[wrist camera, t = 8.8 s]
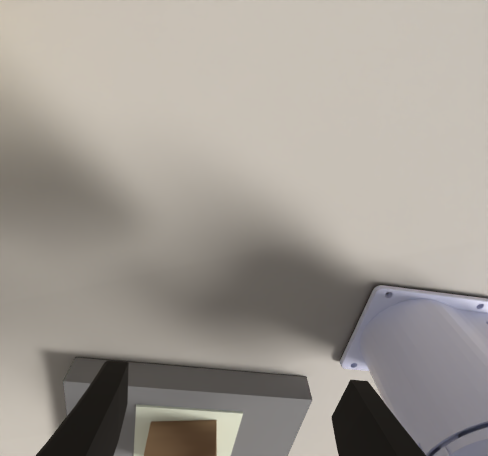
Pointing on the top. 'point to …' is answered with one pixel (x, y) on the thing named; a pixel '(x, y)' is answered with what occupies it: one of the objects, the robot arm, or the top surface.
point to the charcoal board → (204, 404)
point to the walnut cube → (182, 438)
